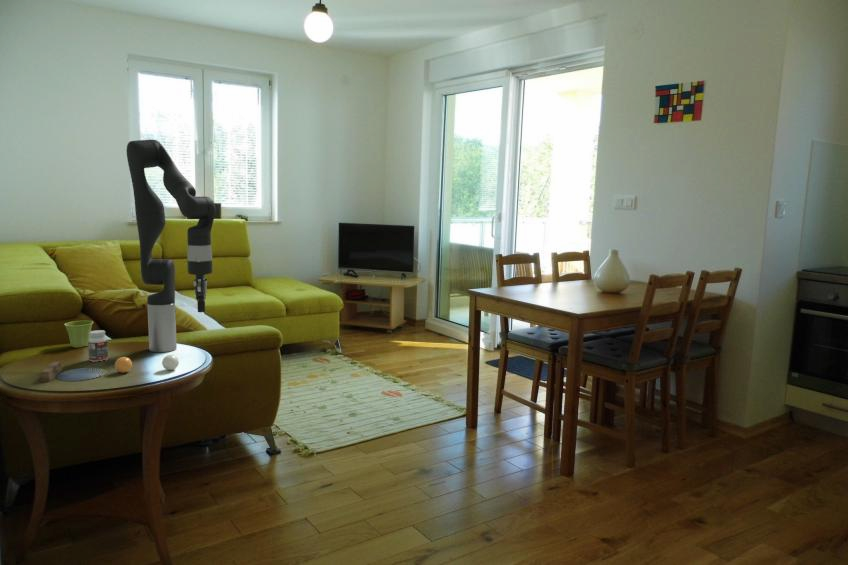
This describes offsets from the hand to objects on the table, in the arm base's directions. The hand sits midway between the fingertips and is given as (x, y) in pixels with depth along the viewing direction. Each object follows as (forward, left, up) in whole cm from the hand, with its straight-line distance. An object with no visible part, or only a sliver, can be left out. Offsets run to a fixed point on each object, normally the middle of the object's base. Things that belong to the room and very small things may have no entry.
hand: (201, 311), depth 201 cm
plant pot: (-39, -46, -19) cm, 63 cm away
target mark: (0, -36, -19) cm, 41 cm away
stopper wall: (0, -44, -19) cm, 48 cm away
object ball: (0, -24, -16) cm, 29 cm away
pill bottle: (-17, -35, -19) cm, 43 cm away
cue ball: (0, -10, -16) cm, 19 cm away
